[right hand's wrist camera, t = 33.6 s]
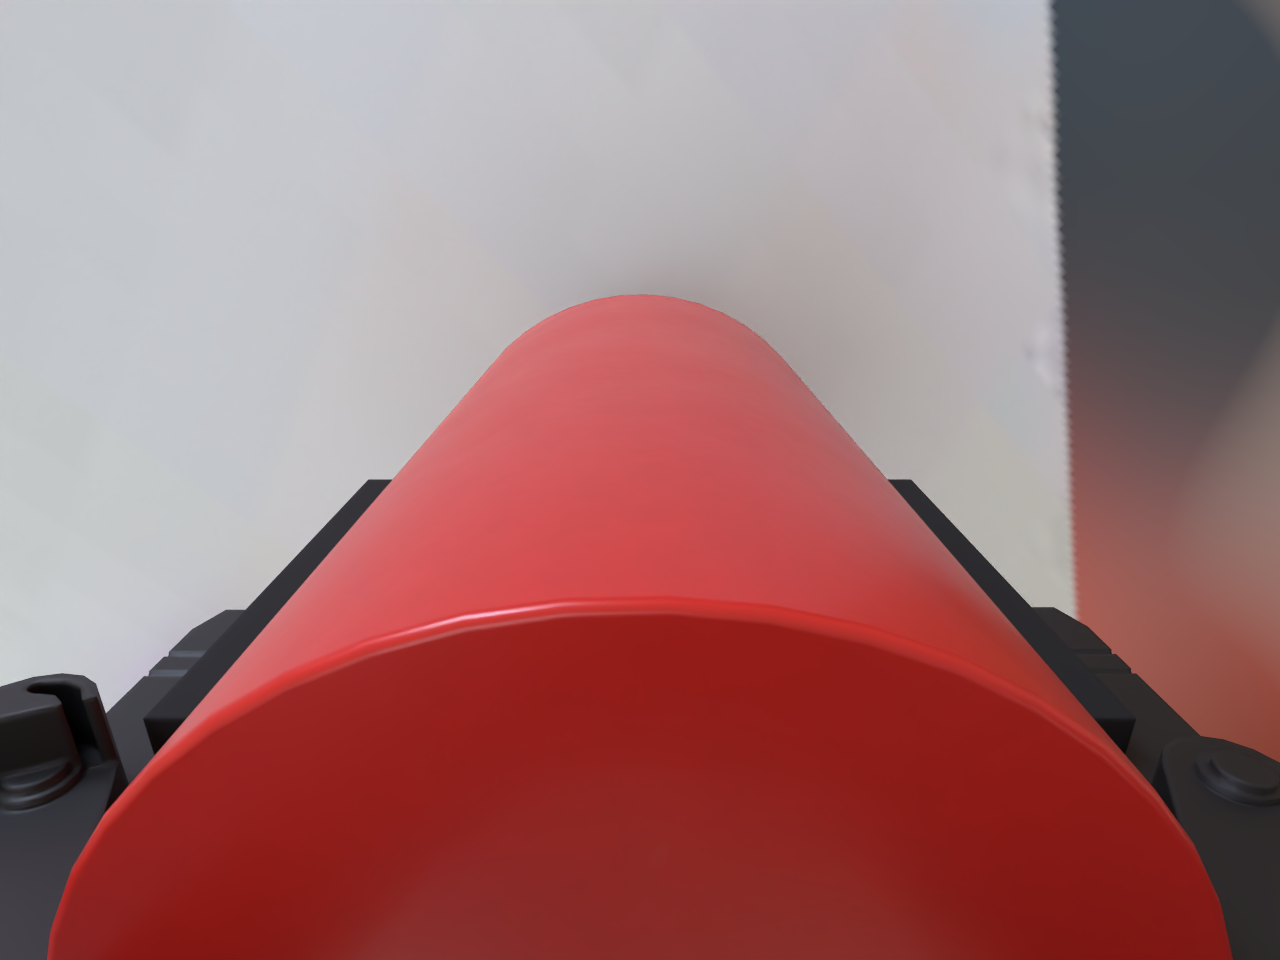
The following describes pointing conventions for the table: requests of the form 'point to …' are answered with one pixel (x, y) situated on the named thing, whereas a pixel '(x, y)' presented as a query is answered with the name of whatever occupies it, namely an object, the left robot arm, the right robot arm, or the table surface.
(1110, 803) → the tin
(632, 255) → the table surface
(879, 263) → the table surface
